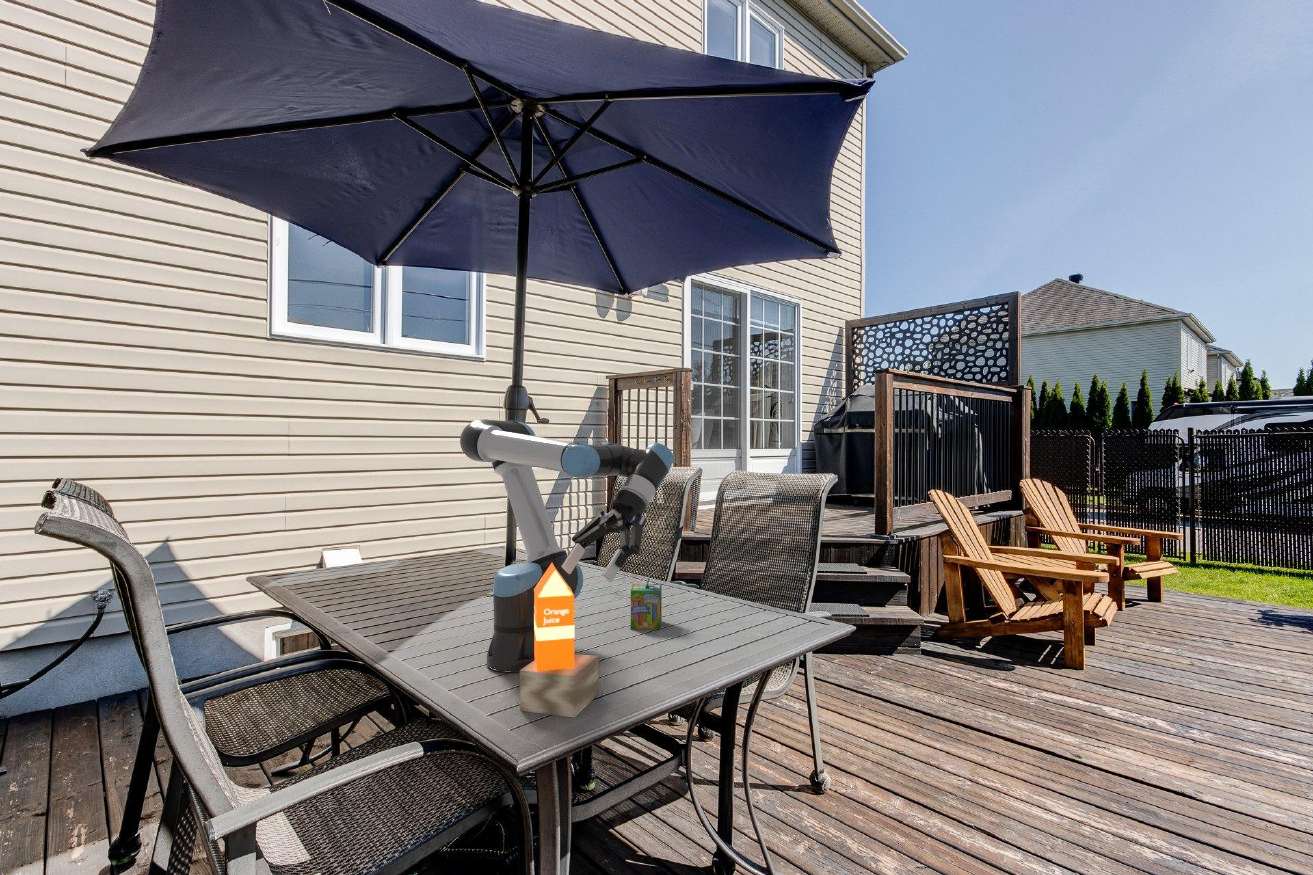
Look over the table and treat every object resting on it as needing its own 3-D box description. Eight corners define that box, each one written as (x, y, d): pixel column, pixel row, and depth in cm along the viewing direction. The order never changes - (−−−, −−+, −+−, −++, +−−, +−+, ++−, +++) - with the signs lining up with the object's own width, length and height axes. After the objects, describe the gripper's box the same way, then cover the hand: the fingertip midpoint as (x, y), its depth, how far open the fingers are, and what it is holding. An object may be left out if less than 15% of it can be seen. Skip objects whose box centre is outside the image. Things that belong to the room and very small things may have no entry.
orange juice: (570, 653, 130) (570, 561, 130) (575, 667, 121) (574, 568, 122) (533, 657, 128) (533, 563, 128) (535, 671, 119) (535, 570, 120)
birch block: (520, 710, 120) (519, 670, 120) (548, 687, 131) (547, 651, 131) (574, 717, 116) (574, 675, 116) (598, 693, 128) (598, 655, 128)
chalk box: (632, 621, 183) (631, 572, 183) (662, 621, 183) (661, 572, 183) (629, 630, 174) (629, 578, 174) (661, 630, 173) (660, 578, 174)
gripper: (681, 511, 133) (635, 592, 122) (606, 506, 150) (559, 576, 139) (664, 489, 129) (615, 571, 118) (589, 486, 146) (540, 557, 135)
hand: (585, 574), depth 129 cm, fingers open, 13 cm apart
